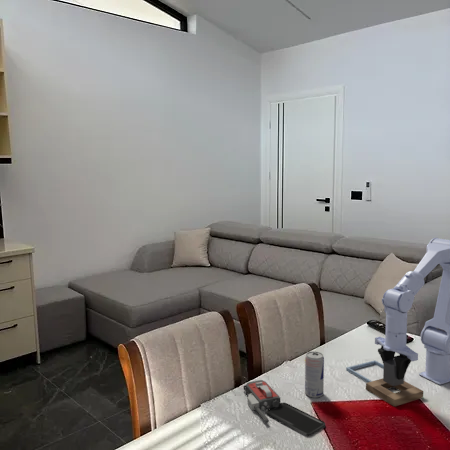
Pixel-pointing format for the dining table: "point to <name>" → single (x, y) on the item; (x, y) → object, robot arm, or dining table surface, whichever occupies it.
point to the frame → (351, 368)
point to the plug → (391, 373)
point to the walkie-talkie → (261, 397)
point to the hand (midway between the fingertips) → (394, 375)
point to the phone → (296, 419)
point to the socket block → (395, 399)
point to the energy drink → (314, 374)
